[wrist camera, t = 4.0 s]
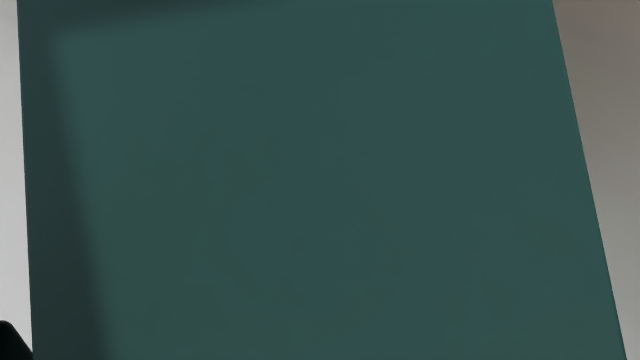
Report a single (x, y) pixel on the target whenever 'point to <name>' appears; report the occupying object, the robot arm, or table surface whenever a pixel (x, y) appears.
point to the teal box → (307, 183)
